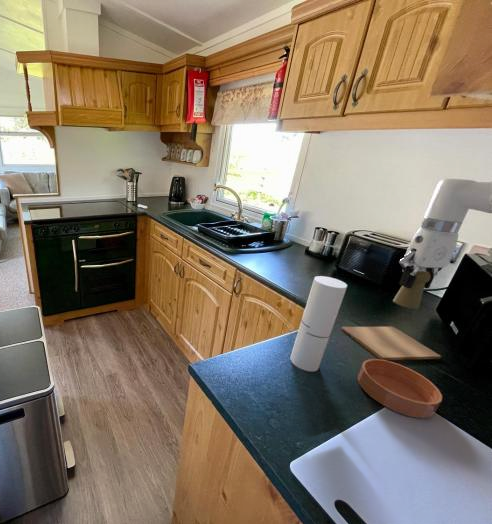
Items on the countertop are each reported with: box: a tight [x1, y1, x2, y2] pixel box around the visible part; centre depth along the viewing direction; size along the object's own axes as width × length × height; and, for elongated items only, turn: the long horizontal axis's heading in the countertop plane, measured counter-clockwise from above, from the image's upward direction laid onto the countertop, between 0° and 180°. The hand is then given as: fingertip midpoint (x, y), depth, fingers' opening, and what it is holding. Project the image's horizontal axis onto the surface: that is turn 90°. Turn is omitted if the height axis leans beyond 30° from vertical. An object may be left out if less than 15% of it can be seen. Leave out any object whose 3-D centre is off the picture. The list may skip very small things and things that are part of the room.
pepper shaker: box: [392, 268, 431, 310], centre depth 85 cm, size 6×6×11 cm
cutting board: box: [340, 325, 442, 361], centre depth 93 cm, size 20×16×1 cm
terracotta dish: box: [357, 358, 443, 419], centre depth 71 cm, size 15×15×4 cm
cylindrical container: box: [289, 275, 348, 372], centre depth 77 cm, size 7×7×25 cm
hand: (413, 285), depth 85 cm, fingers closed on pepper shaker, 5 cm apart
